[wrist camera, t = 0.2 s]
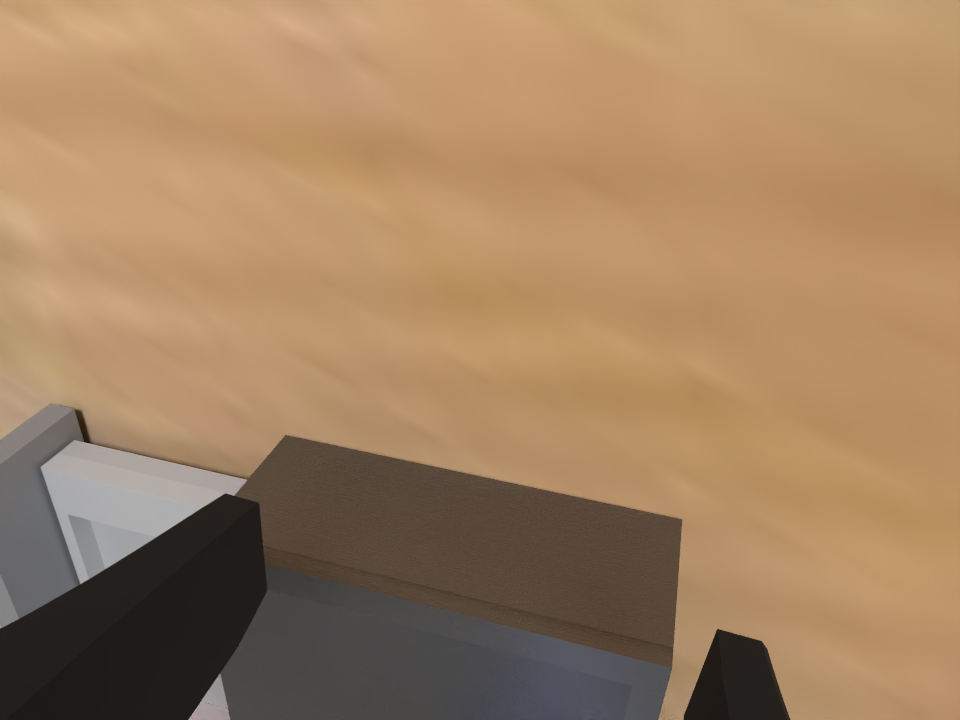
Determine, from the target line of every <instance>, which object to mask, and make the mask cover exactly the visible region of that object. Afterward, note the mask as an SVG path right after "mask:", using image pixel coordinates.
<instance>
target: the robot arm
mask: <svg viewBox="0 0 960 720" xmlns="http://www.w3.org/2000/svg"><path fill="white" fill-rule="evenodd" d="M266 592H267V581H266V570H265V560H264V549H263V538H262V528H261V517H260V506H259V502H255V501H251V500H248V499H244V498H240V497H237V496H233V495H230V494H226V493H225V494H223V495H222V496H220V497H219V498H217V499H215V500H214V501H212V502H211V503H209V504H207V505H206V506H204V507H203V508H201V509H199V510H198V511H196V512H195V513H193V514H192V515H190V516H188V517H187V518H185V519H184V520H182V521H181V522H179V523H178V524H176V525H174V526H173V527H171V528H170V529H168V530H167V531H165V532H164V533H162V534H160V535H159V536H157V537H156V538H154V539H153V540H151V541H150V542H148V543H146V544H145V545H143V546H142V547H140V548H139V549H137V550H135V551H134V552H132V553H130V554H129V555H127V556H126V557H124V558H122V559H121V560H119V561H118V562H116V563H114V564H113V565H111V566H109V567H108V568H106V569H105V570H103V571H101V572H100V573H98V574H97V575H95V576H93V577H92V578H90V579H88V580H87V581H85V582H83V583H82V584H80V585H78V586H76V587H75V588H73V589H71V590H69V591H68V592H66V593H64V594H62V595H61V596H59V597H57V598H55V599H53V600H52V601H50V602H48V603H46V604H45V605H43V606H41V607H39V608H38V609H36V610H34V611H32V612H31V613H29V614H27V615H25V616H23V617H22V618H20V619H18V620H16V621H14V622H12V623H10V624H8V625H6V626H4V627H3V628H1V629H0V720H188V719H189V718H190V716H191V715H192V713H193V712H194V711H195V709H196V708H197V706H198V705H199V703H200V702H201V700H202V699H203V698H204V696H205V695H206V693H207V692H208V690H209V689H210V687H211V686H212V684H213V683H214V682H215V680H216V679H217V677H218V676H219V674H220V673H221V671H222V670H223V668H224V667H225V665H226V664H227V663H228V661H229V660H230V658H231V657H232V655H233V654H234V652H235V651H236V649H237V647H238V646H239V644H240V642H241V640H242V638H243V636H244V635H245V633H246V631H247V629H248V627H249V625H250V624H251V622H252V620H253V618H254V616H255V614H256V612H257V610H258V608H259V606H260V604H261V602H262V600H263V598H264V596H265V594H266ZM684 720H790V718H789V715H788V712H787V709H786V706H785V704H784V701H783V698H782V695H781V692H780V689H779V686H778V683H777V680H776V676H775V673H774V670H773V667H772V664H771V660H770V657H769V654H768V650H767V648H766V647H765V645H764V644H763V642H762V641H759V640H755V639H752V638H748V637H745V636H741V635H737V634H734V633H730V632H726V631H723V630H719V629H717V631H716V634H715V637H714V639H713V642H712V644H711V647H710V649H709V652H708V655H707V657H706V660H705V662H704V665H703V668H702V670H701V673H700V675H699V678H698V681H697V683H696V686H695V688H694V691H693V694H692V696H691V699H690V701H689V704H688V707H687V709H686V712H685V714H684Z"/></svg>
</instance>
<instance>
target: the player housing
mask: <svg viewBox="0 0 960 720" xmlns="http://www.w3.org/2000/svg"><path fill="white" fill-rule="evenodd" d="M234 496H237V497H240V498H244V499H248V500H251V501H255V502H259V506H260V517H261V528H262V538H263V549H264V560H265V570H266V581H267V592H266V594H265V596H264V598H263V600H262V602H261V604H260V606H259V608H258V610H257V612H256V614H255V616H254V618H253V620H252V622H251V624H250V625H249V627H248V629H247V631H246V633H245V635H244V636H243V638H242V640H241V642H240V644H239V646H238V647H237V649H236V651H235V652H234V654H233V655H232V657H231V658H230V660H229V661H228V663H227V664H226V665H225V667H224V668H223V670H222V671H221V673H220V674H221V679H222V683H223V688H224V692H225V697H226V701H227V706H228V710H229V715H230V719H231V720H658V718H659V714H660V711H661V707H662V703H663V699H664V696H665V692H666V688H667V684H668V681H669V677H670V673H671V669H672V659H673V644H674V630H675V615H676V600H677V586H678V571H679V557H680V542H681V527H682V519H677V518H672V517H667V516H663V515H658V514H653V513H649V512H644V511H639V510H635V509H630V508H625V507H620V506H616V505H611V504H606V503H602V502H597V501H592V500H588V499H583V498H578V497H574V496H569V495H564V494H559V493H555V492H550V491H545V490H541V489H536V488H531V487H527V486H522V485H517V484H512V483H508V482H503V481H498V480H494V479H489V478H484V477H480V476H475V475H470V474H466V473H461V472H456V471H451V470H447V469H442V468H437V467H433V466H428V465H423V464H419V463H414V462H409V461H404V460H400V459H395V458H390V457H386V456H381V455H376V454H372V453H367V452H362V451H358V450H353V449H348V448H343V447H339V446H334V445H329V444H325V443H320V442H315V441H311V440H306V439H301V438H296V437H292V436H287V435H285V436H284V438H283V439H282V440H281V441H280V442H279V443H278V445H277V446H276V447H275V448H274V449H273V450H272V452H271V453H270V454H269V455H268V456H267V458H266V459H265V460H264V461H263V462H262V463H261V465H260V466H259V467H258V468H257V469H256V470H255V472H254V473H253V474H252V475H251V476H250V478H249V479H248V480H247V481H246V482H245V483H244V485H243V486H242V487H241V488H240V489H239V491H238V492H237V493H236V494H235V495H234Z"/></svg>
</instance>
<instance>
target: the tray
mask: <svg viewBox="0 0 960 720" xmlns="http://www.w3.org/2000/svg"><path fill="white" fill-rule="evenodd" d="M246 481H247V480H246V479H242V478H237V477H233V476H229V475H224V474H220V473H216V472H211V471H207V470H203V469H198V468H194V467H189V466H185V465H181V464H176V463H172V462H168V461H163V460H159V459H155V458H150V457H146V456H142V455H137V454H133V453H129V452H124V451H120V450H115V449H111V448H107V447H102V446H98V445H94V444H89V443H85V442H84V440H83V437H82V433H81V430H80V426H79V423H78V420H77V416H76V413H75V410H74V409H73V408H69V407H64V406H59V405H55V404H49V405H48V406H47V407H45V408H44V409H42V410H41V411H40V412H38V413H37V414H35V415H34V416H33V417H31V418H30V419H29V420H27V421H26V422H24V423H23V424H22V425H20V426H19V427H17V428H16V429H15V430H13V431H12V432H10V433H9V434H8V435H6V436H5V437H4V438H2V439H1V440H0V624H1V626H2V628H3V627H4V626H6V625H8V624H10V623H12V622H14V621H16V620H18V619H20V618H22V617H23V616H25V615H27V614H29V613H31V612H32V611H34V610H36V609H38V608H39V607H41V606H43V605H45V604H46V603H48V602H50V601H52V600H53V599H55V598H57V597H59V596H61V595H62V594H64V593H66V592H68V591H69V590H71V589H73V588H75V587H76V586H78V585H80V584H82V583H83V582H85V581H87V580H88V579H90V578H92V577H93V576H95V575H97V574H98V573H100V572H101V571H103V570H105V569H106V568H108V567H109V566H111V565H113V564H114V563H116V562H118V561H119V560H121V559H122V558H124V557H126V556H127V555H129V554H130V553H132V552H134V551H135V550H137V549H139V548H140V547H142V546H143V545H145V544H146V543H148V542H150V541H151V540H153V539H154V538H156V537H157V536H159V535H160V534H162V533H164V532H165V531H167V530H168V529H170V528H171V527H173V526H174V525H176V524H178V523H179V522H181V521H182V520H184V519H185V518H187V517H188V516H190V515H192V514H193V513H195V512H196V511H198V510H199V509H201V508H203V507H204V506H206V505H207V504H209V503H211V502H212V501H214V500H215V499H217V498H219V497H220V496H222V495H223V494H225V493H226V494H230V495H233V496H234V495H235V494H236V493H237V492H238V491H239V489H240V488H241V487H242V486H243V485H244V483H245V482H246ZM201 701H203V702H206V703H209V704H212V705H216V706H219V707H222V708H226V709H228V706H227V701H226V697H225V692H224V688H223V683H222V679H221V674H219V676H218V677H217V679H216V680H215V682H214V683H213V684H212V686H211V687H210V689H209V690H208V692H207V693H206V695H205V696H204V698H203V699H202V700H201Z"/></svg>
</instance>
